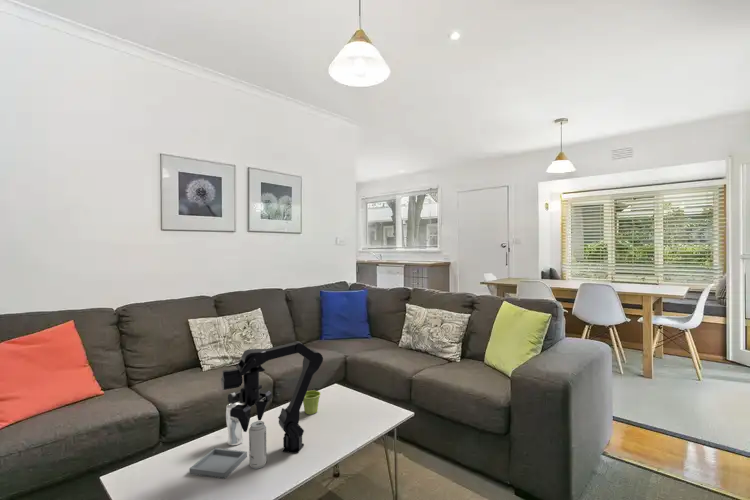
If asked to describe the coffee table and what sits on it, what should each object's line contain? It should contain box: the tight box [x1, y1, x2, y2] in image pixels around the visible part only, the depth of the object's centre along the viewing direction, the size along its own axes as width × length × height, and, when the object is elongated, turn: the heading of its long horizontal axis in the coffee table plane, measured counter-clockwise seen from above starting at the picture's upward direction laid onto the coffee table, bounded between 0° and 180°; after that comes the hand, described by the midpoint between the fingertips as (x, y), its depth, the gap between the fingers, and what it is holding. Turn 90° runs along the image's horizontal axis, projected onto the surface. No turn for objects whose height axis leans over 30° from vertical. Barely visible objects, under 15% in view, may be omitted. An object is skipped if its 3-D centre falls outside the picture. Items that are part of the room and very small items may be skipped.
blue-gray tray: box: [188, 447, 248, 480], centre depth 138 cm, size 14×14×2 cm
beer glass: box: [225, 401, 244, 446], centre depth 155 cm, size 7×7×15 cm
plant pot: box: [302, 390, 321, 415], centre depth 183 cm, size 9×9×9 cm
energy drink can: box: [248, 420, 267, 470], centre depth 138 cm, size 6×6×15 cm
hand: (252, 425), depth 141 cm, fingers open, 9 cm apart
